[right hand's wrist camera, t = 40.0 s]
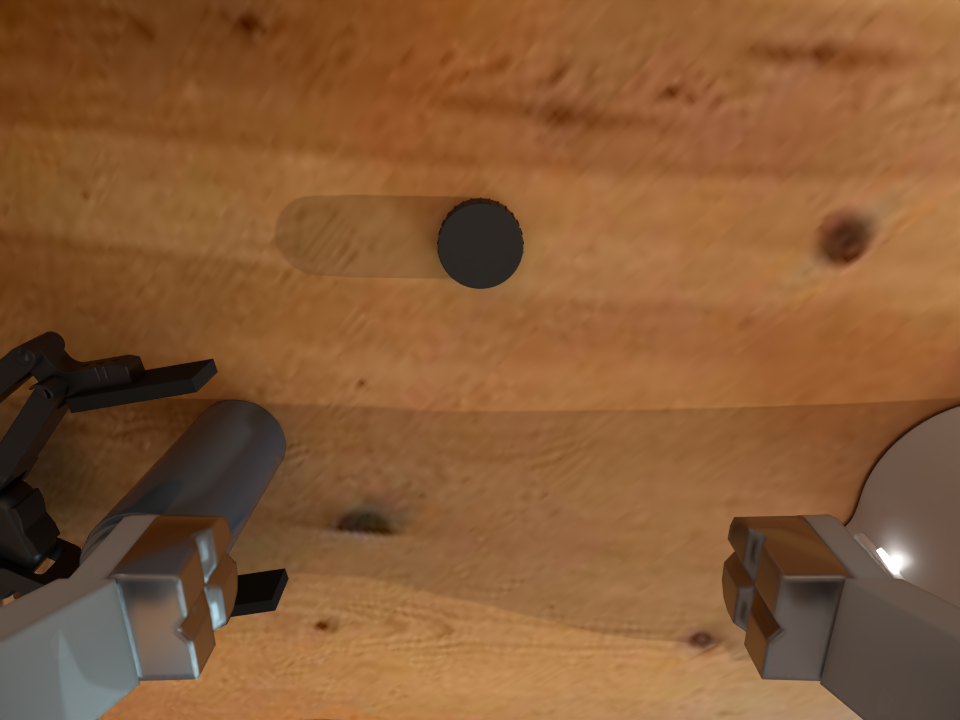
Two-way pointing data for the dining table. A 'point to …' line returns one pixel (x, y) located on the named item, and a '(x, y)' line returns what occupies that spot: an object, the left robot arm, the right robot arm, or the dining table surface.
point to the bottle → (207, 471)
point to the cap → (480, 243)
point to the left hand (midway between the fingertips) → (246, 488)
